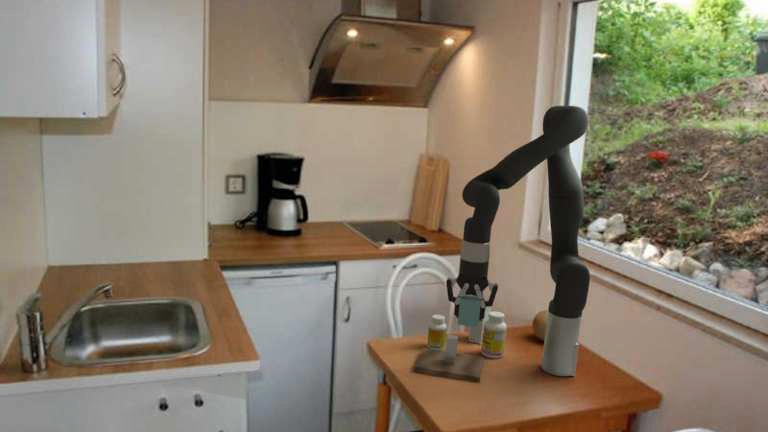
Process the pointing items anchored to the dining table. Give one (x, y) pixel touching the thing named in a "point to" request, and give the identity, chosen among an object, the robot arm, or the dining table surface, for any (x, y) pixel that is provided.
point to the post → (451, 349)
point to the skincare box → (479, 328)
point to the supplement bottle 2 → (494, 335)
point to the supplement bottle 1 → (437, 333)
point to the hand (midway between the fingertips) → (468, 318)
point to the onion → (540, 324)
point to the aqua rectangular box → (469, 311)
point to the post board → (449, 365)
